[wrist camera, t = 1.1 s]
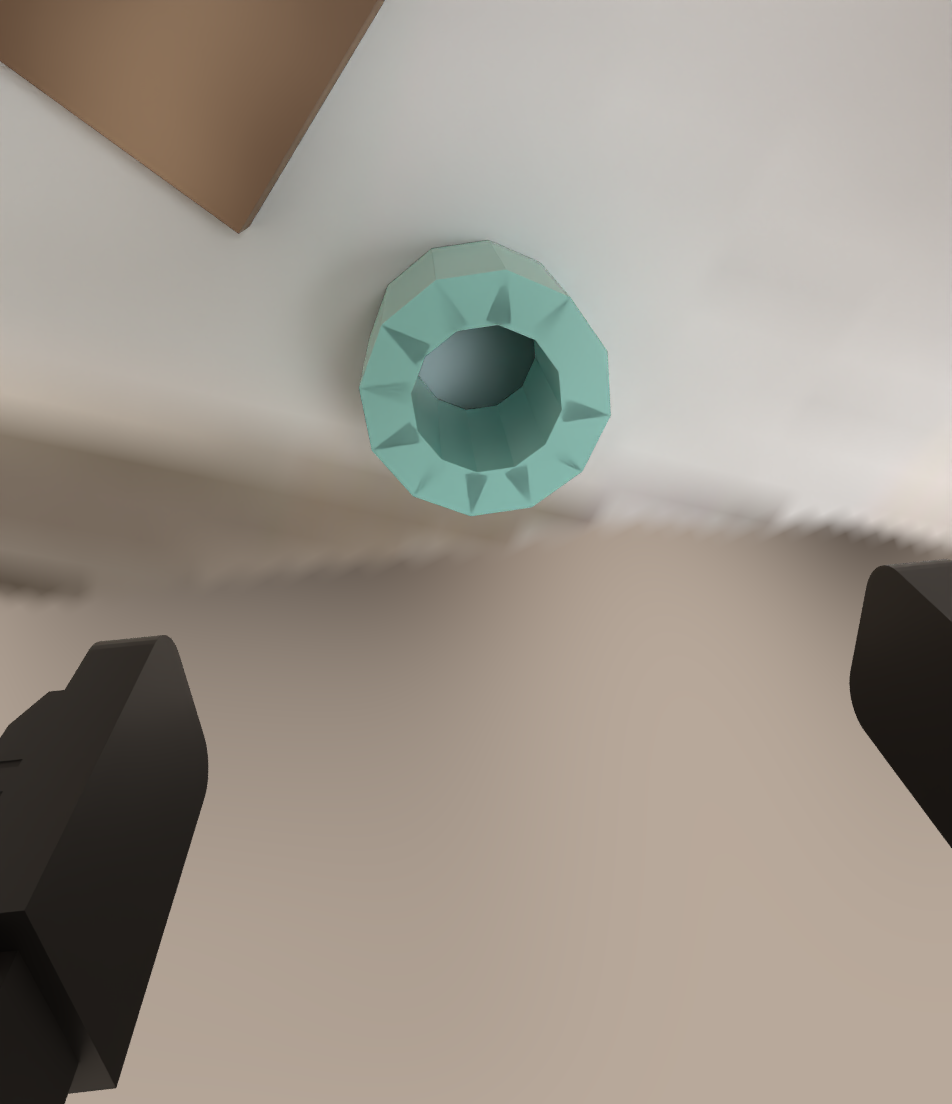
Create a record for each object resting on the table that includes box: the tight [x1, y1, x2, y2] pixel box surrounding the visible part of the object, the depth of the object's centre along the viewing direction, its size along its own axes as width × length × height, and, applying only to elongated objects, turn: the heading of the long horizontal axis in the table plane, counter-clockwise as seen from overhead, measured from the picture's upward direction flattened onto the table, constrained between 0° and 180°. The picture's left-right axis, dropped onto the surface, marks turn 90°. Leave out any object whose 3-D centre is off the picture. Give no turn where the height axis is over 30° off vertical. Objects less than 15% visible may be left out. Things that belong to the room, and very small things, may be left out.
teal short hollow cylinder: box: [359, 240, 611, 516], centre depth 22 cm, size 6×6×5 cm
